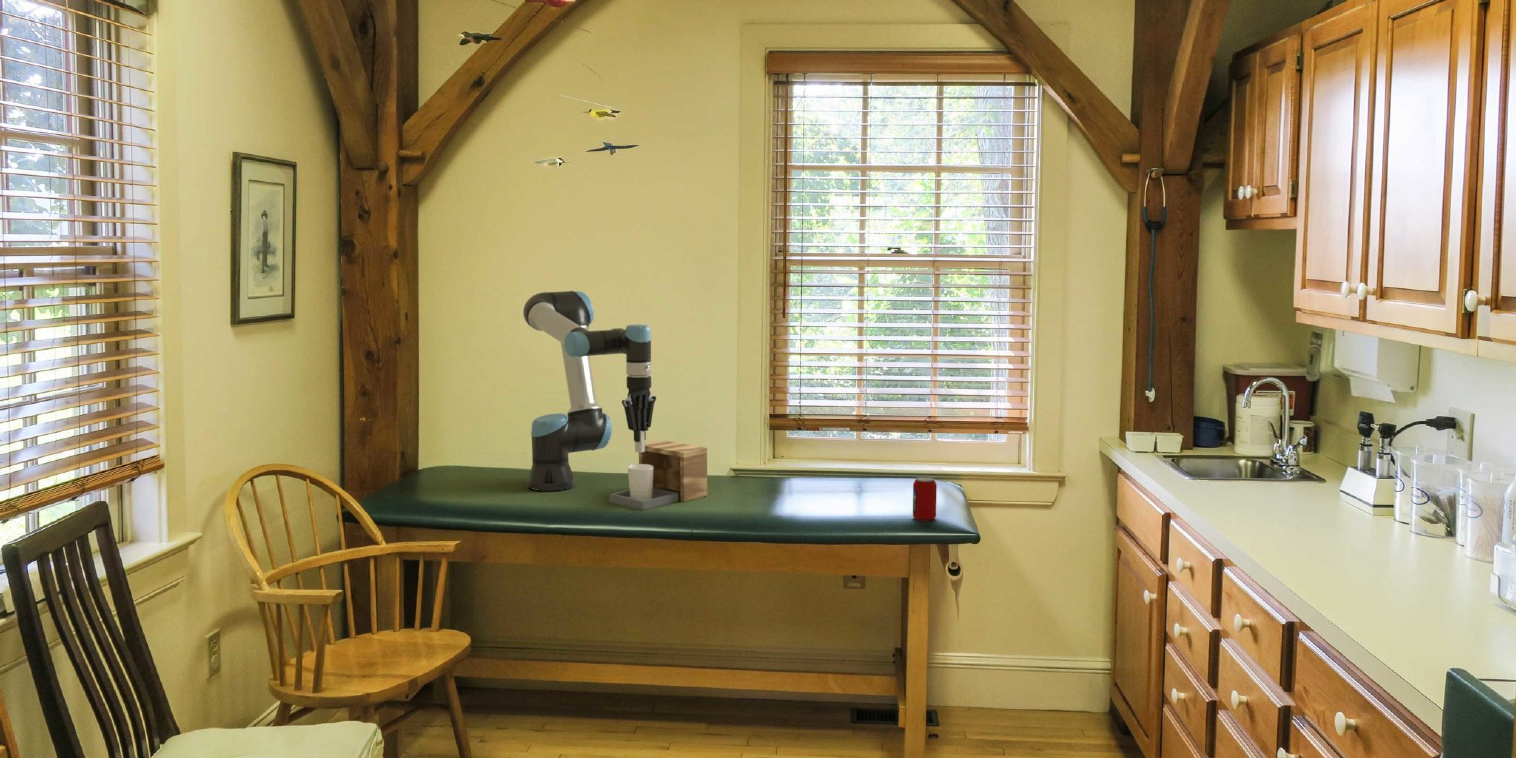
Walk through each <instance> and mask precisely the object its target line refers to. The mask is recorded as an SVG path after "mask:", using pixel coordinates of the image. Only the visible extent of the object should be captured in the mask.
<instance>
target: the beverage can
mask: <svg viewBox="0 0 1516 758" xmlns="http://www.w3.org/2000/svg"><path fill="white" fill-rule="evenodd" d="M937 487H938V486H937V482H936V481H935V478H934V477H931V476H918V477H915V480H914V481H913V485H912V517H913V518H914V519H915V520H916V521H920V520H921V522H930V521H933V520H934V519H936V517H937ZM929 520H930V521H929Z"/></svg>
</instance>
